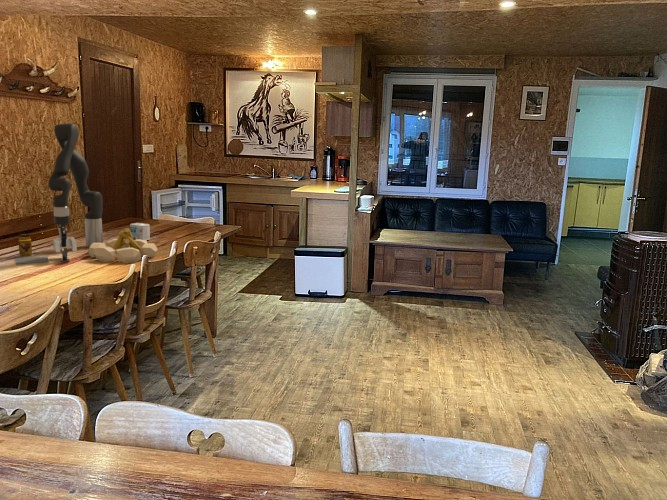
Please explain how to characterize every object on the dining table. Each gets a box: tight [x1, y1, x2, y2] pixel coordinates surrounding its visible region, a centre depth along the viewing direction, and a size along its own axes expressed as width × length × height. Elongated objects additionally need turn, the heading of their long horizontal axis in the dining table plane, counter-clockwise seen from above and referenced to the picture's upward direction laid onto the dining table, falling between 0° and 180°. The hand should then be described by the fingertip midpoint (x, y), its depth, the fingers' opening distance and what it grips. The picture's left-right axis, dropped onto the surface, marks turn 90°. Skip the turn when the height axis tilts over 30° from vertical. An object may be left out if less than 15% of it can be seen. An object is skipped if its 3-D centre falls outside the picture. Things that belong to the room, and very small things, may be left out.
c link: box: [52, 236, 78, 253], centre depth 290 cm, size 14×10×5 cm
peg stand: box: [60, 247, 71, 263], centre depth 287 cm, size 4×4×7 cm
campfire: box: [86, 227, 159, 264], centre depth 304 cm, size 35×34×17 cm
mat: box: [15, 256, 50, 265], centre depth 286 cm, size 15×13×1 cm
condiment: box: [15, 233, 35, 258], centre depth 295 cm, size 7×8×12 cm
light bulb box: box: [129, 222, 151, 242], centre depth 352 cm, size 11×7×11 cm, turn 68°
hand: (63, 246), depth 296 cm, fingers closed on c link
